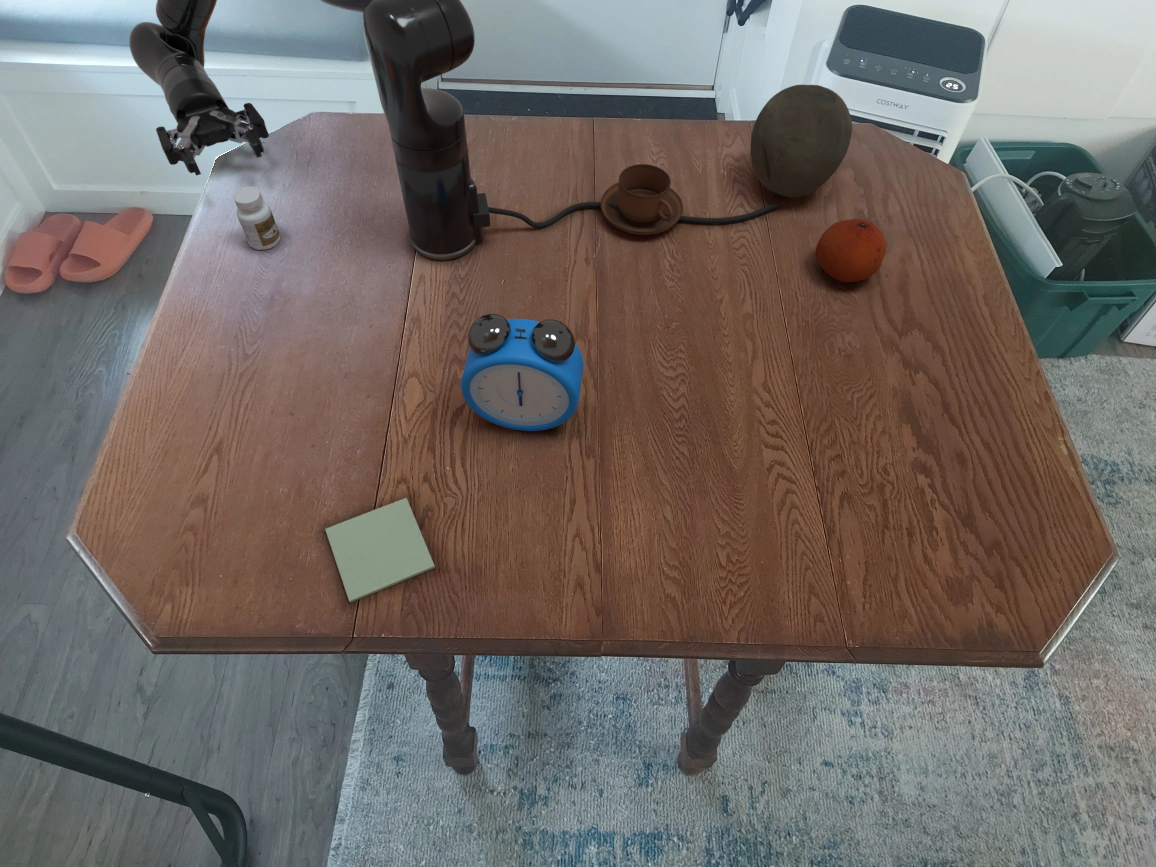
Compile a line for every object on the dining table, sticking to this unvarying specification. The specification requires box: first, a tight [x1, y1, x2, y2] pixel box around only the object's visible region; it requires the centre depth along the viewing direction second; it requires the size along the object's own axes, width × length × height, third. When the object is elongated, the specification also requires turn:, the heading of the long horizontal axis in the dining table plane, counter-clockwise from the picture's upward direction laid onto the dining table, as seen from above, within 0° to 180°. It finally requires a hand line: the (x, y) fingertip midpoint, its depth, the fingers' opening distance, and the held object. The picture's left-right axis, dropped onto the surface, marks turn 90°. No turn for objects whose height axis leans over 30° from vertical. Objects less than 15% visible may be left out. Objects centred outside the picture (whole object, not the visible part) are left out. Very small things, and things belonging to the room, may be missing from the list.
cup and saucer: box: [600, 163, 684, 236], centre depth 109 cm, size 12×12×6 cm
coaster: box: [324, 497, 436, 604], centre depth 79 cm, size 9×9×1 cm
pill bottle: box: [232, 186, 281, 251], centre depth 103 cm, size 4×4×8 cm
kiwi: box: [749, 84, 853, 199], centre depth 110 cm, size 14×14×15 cm
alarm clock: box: [460, 313, 584, 432], centre depth 84 cm, size 13×6×15 cm, turn 84°
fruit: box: [815, 218, 887, 283], centre depth 102 cm, size 9×9×8 cm
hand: (227, 160), depth 105 cm, fingers open, 8 cm apart
